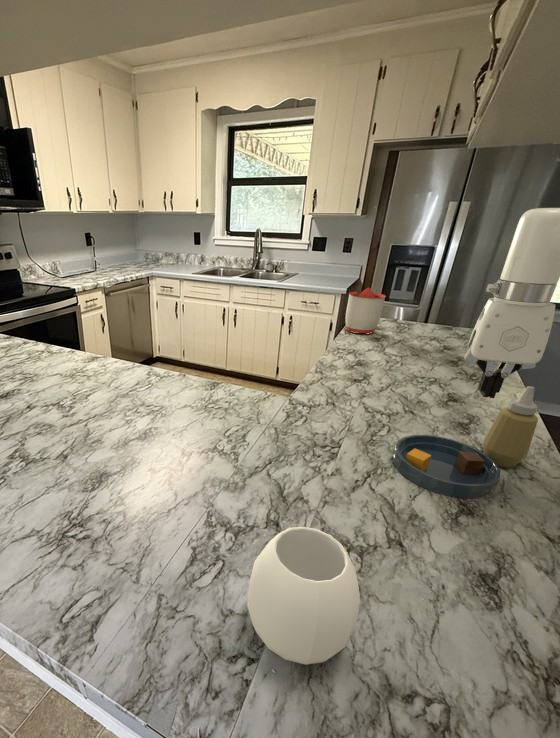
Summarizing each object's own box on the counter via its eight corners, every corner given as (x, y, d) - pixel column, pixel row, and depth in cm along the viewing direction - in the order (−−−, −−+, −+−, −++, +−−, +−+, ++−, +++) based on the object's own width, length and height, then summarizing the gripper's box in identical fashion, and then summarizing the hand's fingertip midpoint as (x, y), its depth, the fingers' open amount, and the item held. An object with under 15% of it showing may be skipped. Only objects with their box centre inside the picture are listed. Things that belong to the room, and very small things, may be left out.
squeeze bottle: (516, 456, 90) (549, 383, 82) (524, 475, 84) (562, 398, 75) (474, 448, 93) (503, 377, 85) (480, 465, 87) (511, 390, 78)
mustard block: (426, 469, 84) (431, 455, 83) (419, 474, 82) (423, 460, 81) (410, 461, 87) (414, 448, 85) (402, 467, 85) (407, 453, 83)
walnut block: (470, 465, 86) (476, 452, 84) (479, 475, 83) (485, 461, 81) (454, 464, 86) (459, 451, 84) (462, 474, 83) (467, 460, 81)
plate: (479, 456, 90) (484, 443, 88) (507, 510, 74) (515, 495, 72) (388, 441, 95) (392, 428, 94) (396, 487, 79) (400, 473, 77)
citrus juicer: (370, 327, 193) (380, 284, 184) (381, 337, 178) (392, 291, 169) (338, 325, 194) (345, 283, 185) (346, 335, 179) (355, 289, 170)
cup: (333, 587, 57) (351, 516, 51) (362, 683, 46) (390, 606, 40) (242, 583, 58) (249, 511, 52) (247, 676, 46) (257, 598, 40)
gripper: (477, 293, 64) (444, 397, 72) (590, 299, 60) (542, 409, 68) (466, 286, 70) (437, 382, 79) (568, 291, 66) (526, 392, 74)
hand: (486, 394), depth 73 cm, fingers closed
